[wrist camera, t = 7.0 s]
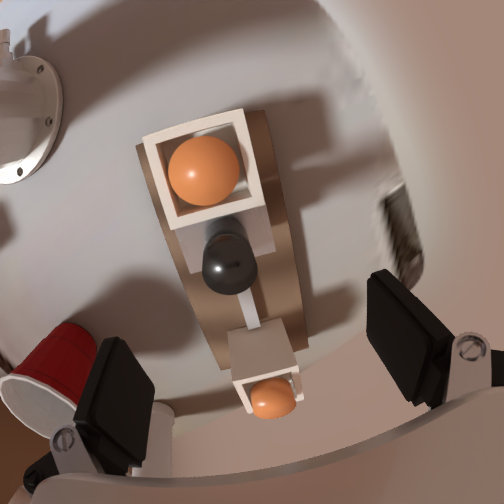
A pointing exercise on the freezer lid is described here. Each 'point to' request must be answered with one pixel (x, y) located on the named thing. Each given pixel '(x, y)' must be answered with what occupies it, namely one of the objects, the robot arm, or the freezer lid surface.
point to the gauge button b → (272, 398)
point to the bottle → (158, 444)
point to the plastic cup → (50, 380)
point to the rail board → (269, 265)
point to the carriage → (227, 248)
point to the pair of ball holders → (241, 198)
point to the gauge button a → (203, 170)
